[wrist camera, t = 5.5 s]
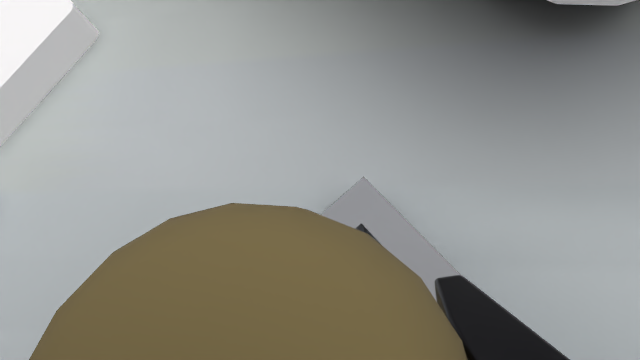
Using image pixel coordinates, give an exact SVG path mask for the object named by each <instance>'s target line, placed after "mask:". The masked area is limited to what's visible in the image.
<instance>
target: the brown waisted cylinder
mask: <svg viewBox="0 0 640 360" xmlns="http://www.w3.org/2000/svg"><path fill="white" fill-rule="evenodd" d="M29 360H467V357H466V353H465V350H464V346H463V343H462V340H461V339H460V337H459V336H458V334H457V332H456V331H455V329H454V328H453V326H452V325H451V323H450V322H449V320H448V319H447V317H446V316H445V314H444V312H443V311H442V309H441V308H440V306H439V305H438V303H437V302H436V300H435V299H434V297H433V296H432V294H431V292H430V291H429V289H428V288H427V286H426V285H425V283H424V282H423V280H422V279H421V277H419V276H418V275H417V274H416V273H415V272H413V271H412V270H411V269H410V268H409V267H407V266H406V265H405V264H404V263H403V262H401V261H400V260H399V259H398V258H396V257H395V256H394V255H393V254H392V253H390V252H389V251H388V250H387V249H386V248H384V247H383V246H382V245H381V244H380V243H378V242H377V241H376V240H375V239H373V238H372V237H371V236H370V235H369V234H367V233H365V232H362V231H360V230H357V229H355V228H352V227H350V226H347V225H345V224H342V223H339V222H337V221H334V220H332V219H329V218H327V217H324V216H322V215H319V214H317V213H314V212H312V211H309V210H306V209H302V208H298V207H288V206H272V205H255V204H239V203H230V204H226V205H222V206H218V207H214V208H210V209H206V210H202V211H198V212H194V213H190V214H186V215H182V216H178V217H175V218H171V219H169V220H167V221H165V222H163V223H162V224H160V225H158V226H157V227H155V228H153V229H152V230H150V231H148V232H147V233H145V234H143V235H142V236H140V237H138V238H136V239H135V240H133V241H131V242H130V243H128V244H126V245H125V246H123V247H121V248H120V249H118V250H116V251H115V252H113V253H112V254H111V255H110V256H109V257H108V258H107V259H106V260H105V261H104V262H103V263H102V264H101V265H100V266H99V267H98V268H97V269H96V270H95V271H94V272H93V274H92V275H91V276H90V277H89V278H88V279H87V280H86V281H85V282H84V283H83V284H82V285H81V286H80V287H79V288H78V289H77V290H76V291H75V292H74V293H73V294H72V295H71V296H70V297H69V298H68V299H67V301H66V302H65V303H64V304H63V305H62V306H61V307H60V308H59V309H58V310H57V311H56V313H55V315H54V316H53V318H52V320H51V322H50V324H49V325H48V327H47V329H46V331H45V332H44V334H43V336H42V338H41V340H40V341H39V343H38V345H37V347H36V348H35V350H34V352H33V354H32V356H31V357H30V359H29Z"/></svg>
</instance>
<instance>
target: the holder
mask: <svg viewBox="0 0 640 360" xmlns="http://www.w3.org/2000/svg"><path fill="white" fill-rule="evenodd" d="M98 37H99V31H98V30H97V29H96V28H95V26H94V25H93V24H92V23H91V22H90V21H89V20H88V19H87V18H86V17H85V16H84V15H83V13H82V12H81V11H80V10H79V9H78V8H77V7H76V6H75V5H74V4H73V3H72V1H70V0H0V147H1V146H2V145H3V144H4V142H5V141H6V140H7V139H8V138H9V137H10V136H11V135H12V134H13V132H14V131H15V130H16V129H17V128H18V127H19V126H20V125H21V123H22V122H23V121H24V120H25V119H26V118H27V117H28V116H29V115H30V113H31V112H32V111H33V110H34V109H35V108H36V107H37V106H38V105H39V103H40V102H41V101H42V100H43V99H44V98H45V97H46V96H47V95H48V93H49V92H50V91H51V90H52V89H53V88H54V87H55V86H56V84H57V83H58V82H59V81H60V80H61V79H62V78H63V77H64V76H65V74H66V73H67V72H68V71H69V70H70V69H71V68H72V67H73V66H74V64H75V63H76V62H77V61H78V60H79V59H80V58H81V57H82V56H83V54H84V53H85V52H86V51H87V50H88V49H89V48H90V47H91V46H92V44H93V43H94V42H95V41H96V40H97V39H98Z"/></svg>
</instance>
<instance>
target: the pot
mask: <svg viewBox="0 0 640 360" xmlns="http://www.w3.org/2000/svg"><path fill="white" fill-rule="evenodd" d="M547 1H550V2H552V3H555V4H574V5H615V6H618V5H622V4H625V3H629V2H632V1H636V0H547Z"/></svg>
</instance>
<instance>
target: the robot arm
mask: <svg viewBox="0 0 640 360" xmlns="http://www.w3.org/2000/svg"><path fill="white" fill-rule="evenodd" d="M435 292H436V299H437V303H438V305H439V306H440V308H441V309H442V311H443V312H444V314H445V316H446V317H447V319H448V320H449V322H450V323H451V325H452V326H453V328H454V329H455V331H456V332H457V334H458V336H459V337H460V339H461V340H462V343H463V346H464V350H465V353H466V357H467V360H570V359H568V358H567V357H566V356H565V355H563V354H562V353H561V352H559V351H558V350H557V349H556V348H554V347H553V346H552V345H550V344H549V343H548V342H547V341H545V340H544V339H543V338H541V337H540V336H539V335H538V334H536V333H535V332H534V331H532V330H531V329H530V328H529V327H527V326H526V325H525V324H524V323H522V322H521V321H520V320H518V319H517V318H516V317H515V316H513V315H512V314H511V313H509V312H508V311H507V310H506V309H504V308H503V307H502V306H500V305H499V304H498V303H497V302H495V301H494V300H493V299H491V298H490V297H489V296H488V295H486V294H485V293H484V292H482V291H481V290H480V289H479V288H477V287H476V286H475V285H473V284H472V283H471V282H470V281H468V280H467V279H466V278H464V277H463V276H461V275H454V276H447V277H440V278H437V279H436V280H435Z"/></svg>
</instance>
